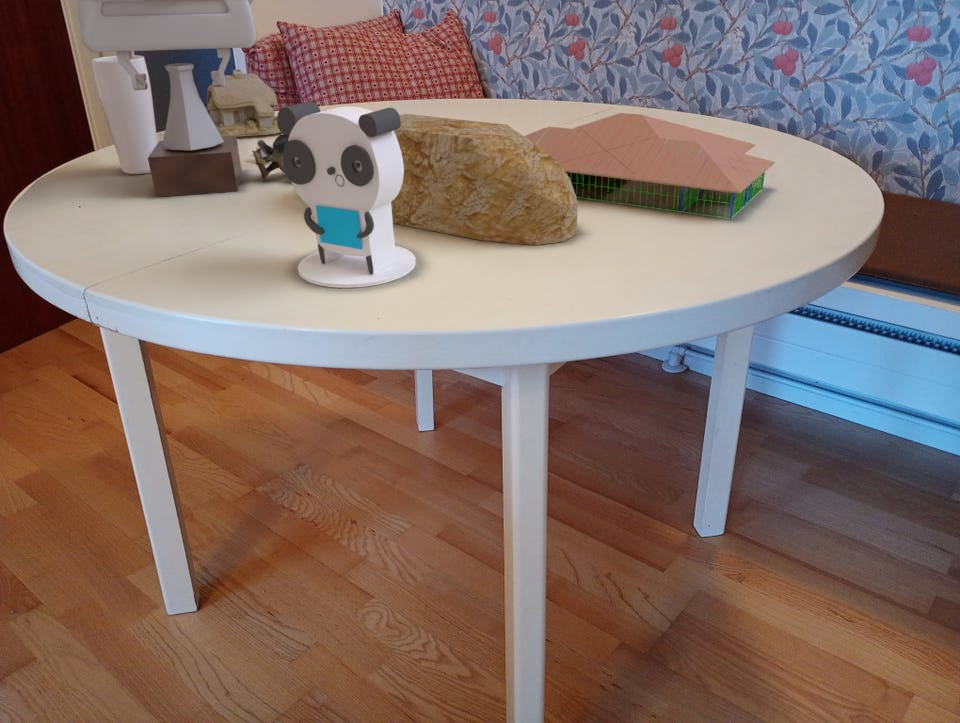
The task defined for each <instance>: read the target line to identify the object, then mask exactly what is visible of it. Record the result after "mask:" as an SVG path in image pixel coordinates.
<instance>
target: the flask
mask: <svg viewBox="0 0 960 723" xmlns="http://www.w3.org/2000/svg"><path fill="white" fill-rule="evenodd" d="M194 68H195V66H194V64H193V63H189V62H178V63H170V64H166V65H164V69H165V71H167V72H168V76H169V77H168V78H169V82H170V83H169V84H170V88H169V89H170V99H169V106H168V113H167V119H166V122H165V123H166V124H165V128H164V129H165V130H164V134H163V138H162V139H163V145H162V146H163V147H166V148H168V149H170V150H196V149H202V148H209V147H213V146H216V145H218V144H220V143H222V142H224V141H223V139H222V137H221V135H220V133H219V131H218V130H217V128H216V126H215V125H214V123H213V121H212V119H211V117H210V113H209V112H208V110H207V107H206V106H205V104H204V102H203V101H202V99H201V97H200V94H199V92H198V89H197V86H196V84H195V81H194V76H193V75H194V74H193V70H194Z"/></svg>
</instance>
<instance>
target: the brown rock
mask: <svg viewBox="0 0 960 723" xmlns="http://www.w3.org/2000/svg"><path fill="white" fill-rule="evenodd" d="M399 116H400V121H401V126H400V128H399V129H396V130H393V131H394V133H395V135H396V138H397V140H398V143H399V146H400V150H401V154H402V158H403V165H404V177H403V183H402V186H401V189H400V191H399V193H398V195H397V197H396V198H395V199H394V200H393V201H392V202H391V207H392V220H393V224H396V225H401V226H406V227H411V228H416V229H420V230H421V229H422V230H427V231H430V232H436V233H442V234H447V235H452V236H456V237H462V238H467V239H471V240H478V241H483V242H485V241H486V242H494V243H495V242H496V243H506V244H507V243H508V244H519V245H530V246H531V245H532V246H539V245H549V244H555V243H565V242H566V241H568V240H570V239H571V238H573V237H575V236H576V235H577V234H578V207H579V206H578V205H579V202H578V198H577V197H576V191H575V189H574V186H573V182H572V180H571V181H570V176H569V175H568V173H567V174H566V172H565V171H564V170H563V168H562V167H561V166H560V165H559V163H558V162H557V161H556V159H554V158H553V157H551V156H550V155H549V154H547V153H546V152H545V151H543V150H542V149H541V148H539V147H538V146H537V145H535V144H534V143H533V142H531V141H530V140H529V139H527V138H526V137H524V136H525V135H523V134H522V133H520V132H519V131H518V130H516V129H514V128H513V127H511V126H509V125H508V124H505V123H504V124H503V123H495V122H485V121H477V120H467V119H459V118H458V119H457V118H450V117H440V116H439V117H438V116H432V115H431V116H430V115H422V114H421V115H420V114H413V113H401V114H399ZM571 182H572V183H571Z"/></svg>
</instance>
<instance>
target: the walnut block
mask: <svg viewBox="0 0 960 723" xmlns="http://www.w3.org/2000/svg"><path fill="white" fill-rule="evenodd" d="M222 139H223V141H224V142H222V143H220V144H218V145H216V146H213V147H209V148H202V149H196V150H170V149H168V148H166V147H163V146H162V145H163V140H161V139H160V140H159V141H157V142H158V144H157V145H156V147H155V148H154V149H153V151H152V152H151V154H150V155H149V157H148V161H149V166H150V171H151V172H150V175H151V179H152V184H153V190H154V194H155V197H156V198H164V197H176V196H177V197H178V196H179V197H180V196H191V195H192V196H193V195H204V194H217V193H218V194H219V193H229V192H230V193H231V192H238V190H239V186H240V181H241V177H242V173H243V170H242V169H243V168H242V164H241V158H240V150H239V144H238V140H237V139H238V137H236V136H222Z"/></svg>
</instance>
